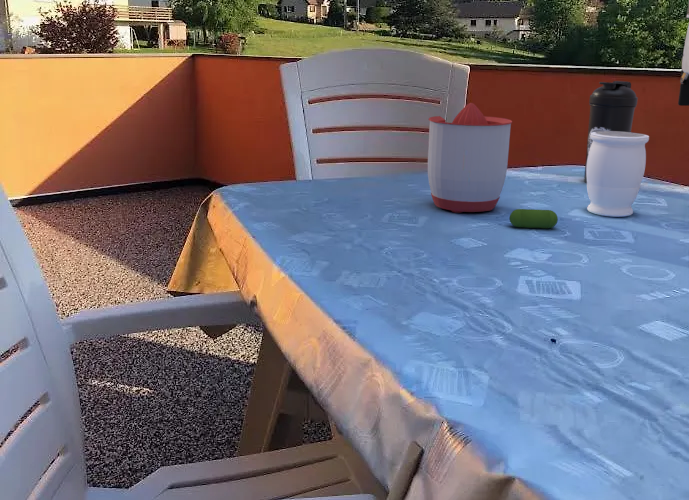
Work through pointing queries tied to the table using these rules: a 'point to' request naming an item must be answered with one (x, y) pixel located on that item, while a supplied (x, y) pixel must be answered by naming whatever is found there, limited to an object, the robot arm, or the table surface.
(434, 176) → the citrus juicer
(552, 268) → the table surface
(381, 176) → the table surface
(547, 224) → the pickle
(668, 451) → the table surface
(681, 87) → the robot arm
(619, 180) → the jar
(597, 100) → the water bottle
